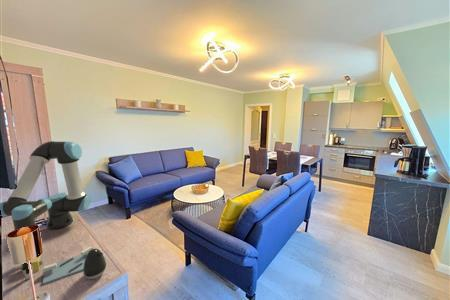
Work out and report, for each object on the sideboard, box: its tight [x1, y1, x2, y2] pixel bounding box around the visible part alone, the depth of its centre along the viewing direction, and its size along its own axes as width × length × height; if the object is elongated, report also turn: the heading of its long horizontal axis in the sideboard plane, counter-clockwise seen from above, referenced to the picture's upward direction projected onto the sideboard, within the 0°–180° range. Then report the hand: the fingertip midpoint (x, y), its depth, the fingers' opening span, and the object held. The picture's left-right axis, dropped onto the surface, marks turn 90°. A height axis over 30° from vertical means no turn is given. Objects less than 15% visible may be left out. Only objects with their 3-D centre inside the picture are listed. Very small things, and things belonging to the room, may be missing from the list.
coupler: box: [19, 255, 44, 276], centre depth 104 cm, size 6×8×6 cm
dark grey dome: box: [82, 248, 107, 280], centre depth 102 cm, size 10×10×15 cm
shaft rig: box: [42, 246, 94, 286], centre depth 107 cm, size 13×22×5 cm, turn 126°
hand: (32, 268), depth 105 cm, fingers open, 13 cm apart
